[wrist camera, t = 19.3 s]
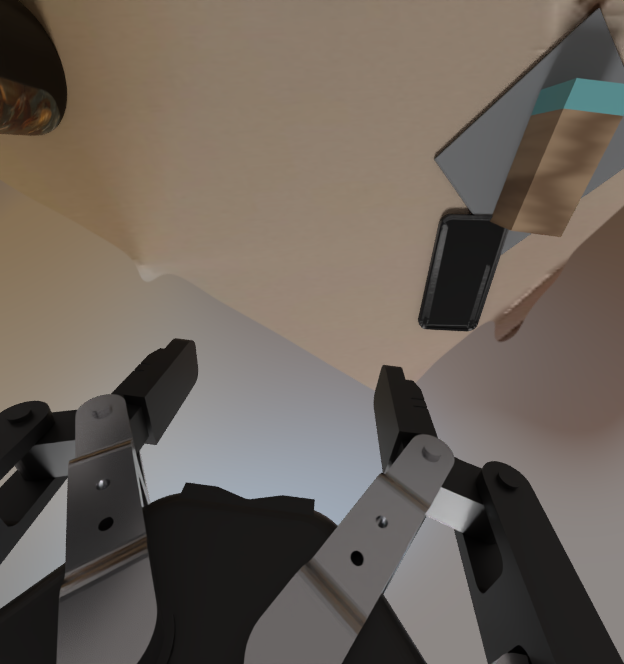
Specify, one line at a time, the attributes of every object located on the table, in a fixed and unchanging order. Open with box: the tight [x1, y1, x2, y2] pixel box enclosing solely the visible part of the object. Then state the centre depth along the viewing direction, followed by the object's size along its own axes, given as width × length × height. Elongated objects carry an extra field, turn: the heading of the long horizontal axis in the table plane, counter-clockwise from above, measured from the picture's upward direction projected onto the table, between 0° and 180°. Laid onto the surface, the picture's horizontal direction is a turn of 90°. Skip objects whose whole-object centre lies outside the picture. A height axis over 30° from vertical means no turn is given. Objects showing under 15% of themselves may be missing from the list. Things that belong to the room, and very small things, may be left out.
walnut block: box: [490, 78, 624, 237], centre depth 30 cm, size 5×5×12 cm
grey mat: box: [434, 8, 624, 255], centre depth 31 cm, size 14×16×1 cm
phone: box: [418, 214, 509, 331], centre depth 39 cm, size 8×1×15 cm
